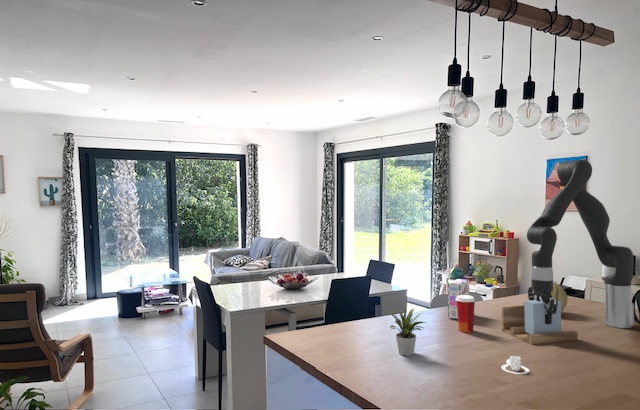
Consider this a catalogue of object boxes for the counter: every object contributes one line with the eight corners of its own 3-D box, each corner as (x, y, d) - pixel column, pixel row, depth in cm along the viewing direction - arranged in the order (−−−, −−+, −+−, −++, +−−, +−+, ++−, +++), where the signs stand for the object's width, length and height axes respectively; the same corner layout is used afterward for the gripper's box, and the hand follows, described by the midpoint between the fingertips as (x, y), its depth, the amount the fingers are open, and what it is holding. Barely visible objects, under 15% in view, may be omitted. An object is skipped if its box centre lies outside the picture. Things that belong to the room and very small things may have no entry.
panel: (551, 329, 166) (551, 299, 166) (561, 333, 161) (560, 301, 161) (524, 331, 164) (524, 300, 164) (533, 335, 159) (533, 303, 159)
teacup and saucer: (506, 363, 138) (506, 350, 138) (532, 368, 133) (532, 355, 133) (497, 371, 131) (497, 358, 131) (525, 377, 126) (525, 364, 126)
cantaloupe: (524, 311, 202) (524, 280, 202) (549, 308, 207) (548, 277, 207) (550, 318, 188) (549, 285, 188) (575, 315, 193) (574, 283, 193)
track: (502, 331, 171) (501, 306, 171) (545, 327, 175) (544, 303, 175) (531, 344, 155) (530, 317, 155) (577, 340, 159) (577, 313, 159)
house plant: (393, 363, 139) (392, 313, 139) (376, 349, 152) (376, 304, 152) (432, 358, 142) (431, 310, 142) (412, 345, 156) (411, 301, 156)
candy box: (460, 320, 188) (459, 283, 188) (447, 318, 191) (447, 282, 191) (470, 314, 199) (469, 279, 199) (458, 312, 202) (457, 278, 202)
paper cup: (473, 328, 176) (472, 294, 176) (478, 333, 168) (477, 298, 168) (453, 327, 177) (453, 294, 177) (458, 333, 169) (457, 298, 169)
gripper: (564, 280, 156) (565, 326, 156) (537, 274, 170) (538, 316, 170) (547, 281, 155) (547, 328, 155) (521, 275, 169) (521, 318, 169)
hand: (542, 321), depth 163 cm, fingers closed on panel, 5 cm apart
